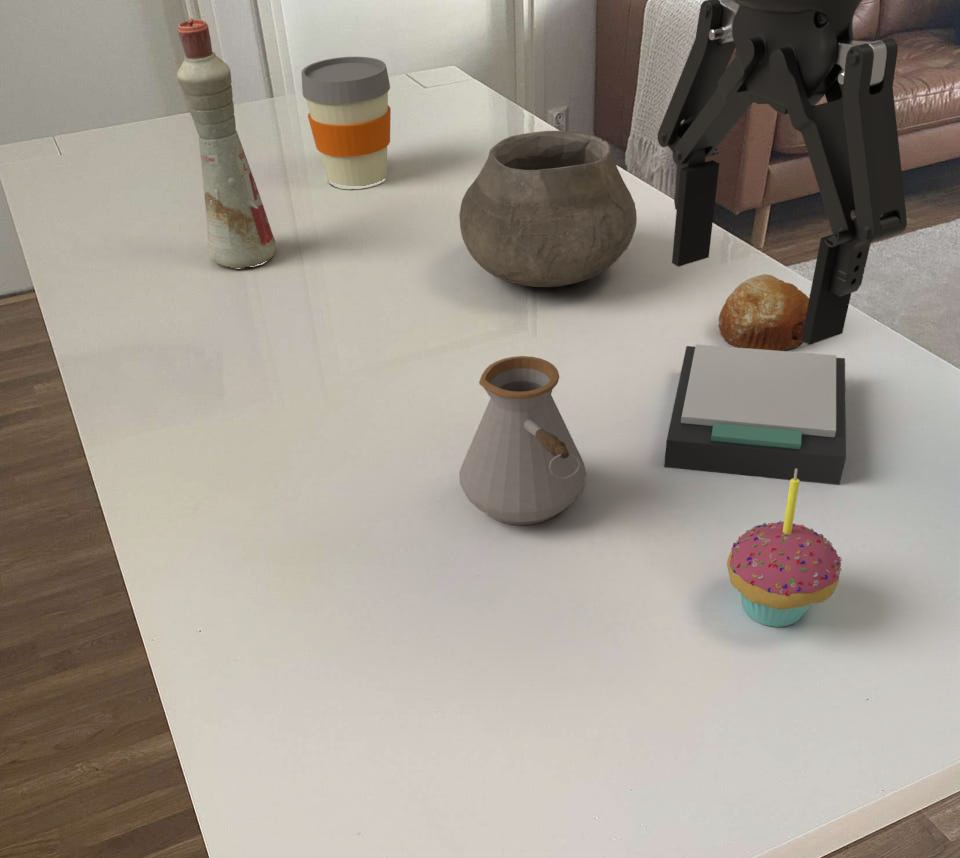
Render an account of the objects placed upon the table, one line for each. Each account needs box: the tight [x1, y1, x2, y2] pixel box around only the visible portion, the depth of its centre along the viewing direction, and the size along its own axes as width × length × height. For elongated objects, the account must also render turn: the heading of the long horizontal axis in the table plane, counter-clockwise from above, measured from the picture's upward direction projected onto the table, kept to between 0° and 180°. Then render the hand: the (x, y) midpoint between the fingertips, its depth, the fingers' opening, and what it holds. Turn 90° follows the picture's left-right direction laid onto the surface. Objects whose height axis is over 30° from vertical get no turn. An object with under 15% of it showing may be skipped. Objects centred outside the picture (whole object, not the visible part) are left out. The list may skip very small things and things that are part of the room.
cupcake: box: [726, 469, 843, 628], centre depth 77 cm, size 9×8×12 cm
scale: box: [663, 344, 847, 485], centre depth 99 cm, size 16×18×4 cm
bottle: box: [176, 17, 277, 269], centre depth 124 cm, size 9×9×28 cm
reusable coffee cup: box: [301, 56, 392, 186], centre depth 147 cm, size 13×13×15 cm
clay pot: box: [458, 130, 638, 288], centre depth 121 cm, size 22×21×15 cm
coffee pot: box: [459, 355, 587, 526], centre depth 84 cm, size 21×12×15 cm, turn 11°
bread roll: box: [717, 273, 809, 351], centre depth 112 cm, size 10×10×8 cm
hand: (751, 296), depth 68 cm, fingers open, 13 cm apart
